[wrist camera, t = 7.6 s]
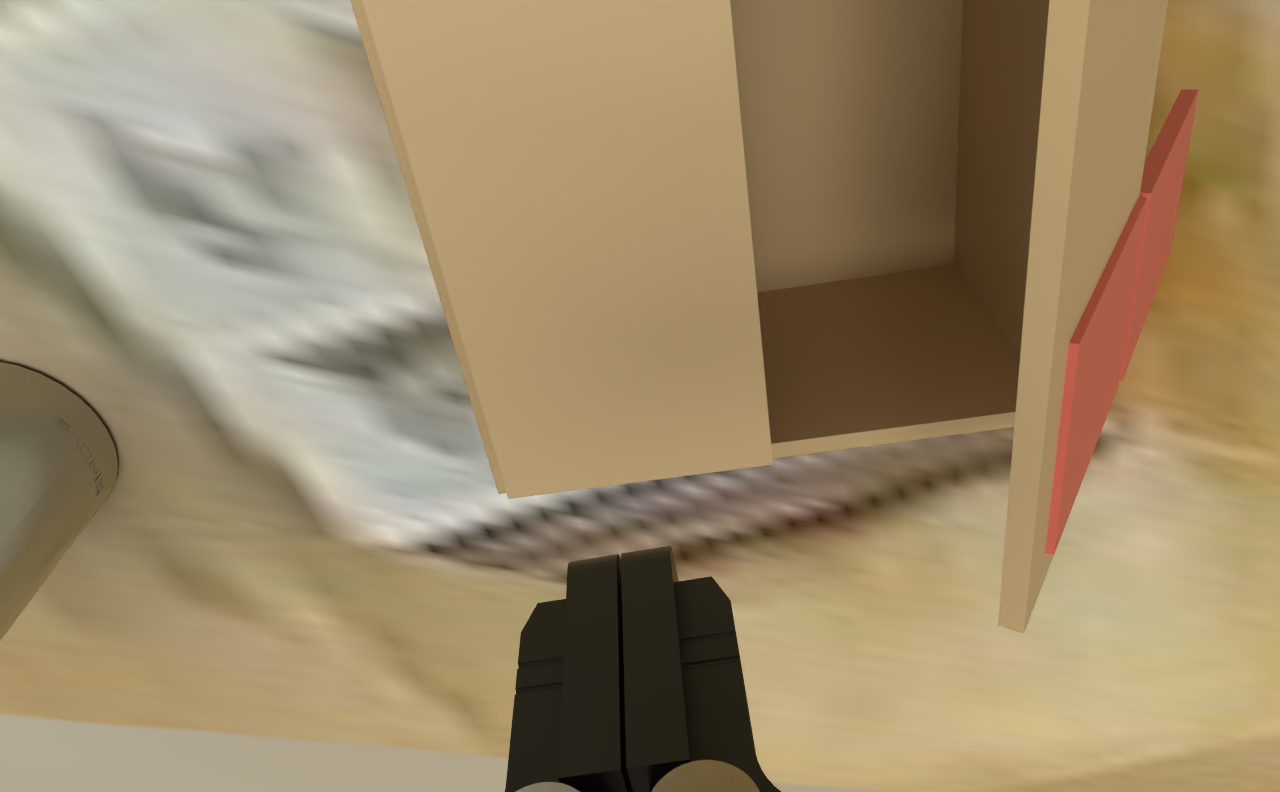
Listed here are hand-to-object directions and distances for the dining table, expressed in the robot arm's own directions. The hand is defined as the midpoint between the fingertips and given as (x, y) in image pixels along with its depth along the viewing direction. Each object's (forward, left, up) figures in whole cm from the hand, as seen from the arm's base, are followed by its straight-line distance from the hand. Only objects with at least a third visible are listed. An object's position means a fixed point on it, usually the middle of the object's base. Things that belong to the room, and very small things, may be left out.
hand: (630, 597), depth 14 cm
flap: (+14, +1, -14) cm, 20 cm away
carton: (+4, +1, -26) cm, 27 cm away
